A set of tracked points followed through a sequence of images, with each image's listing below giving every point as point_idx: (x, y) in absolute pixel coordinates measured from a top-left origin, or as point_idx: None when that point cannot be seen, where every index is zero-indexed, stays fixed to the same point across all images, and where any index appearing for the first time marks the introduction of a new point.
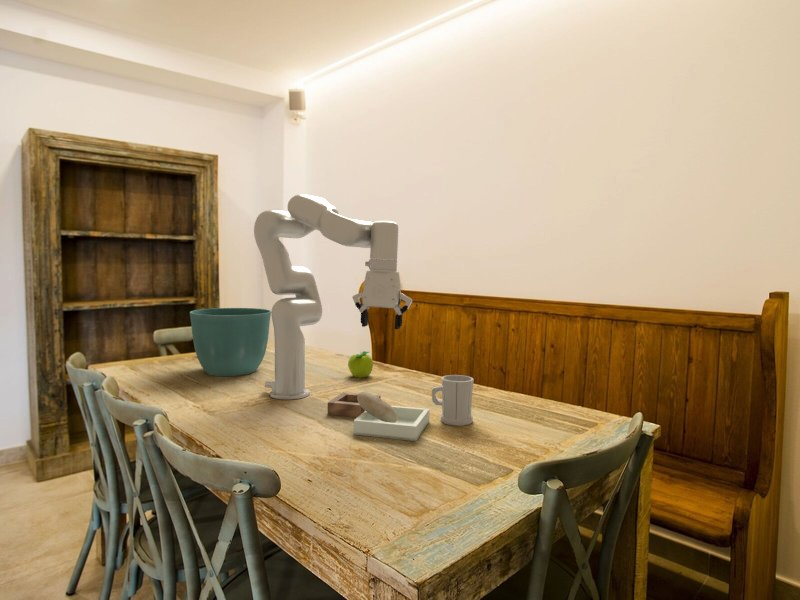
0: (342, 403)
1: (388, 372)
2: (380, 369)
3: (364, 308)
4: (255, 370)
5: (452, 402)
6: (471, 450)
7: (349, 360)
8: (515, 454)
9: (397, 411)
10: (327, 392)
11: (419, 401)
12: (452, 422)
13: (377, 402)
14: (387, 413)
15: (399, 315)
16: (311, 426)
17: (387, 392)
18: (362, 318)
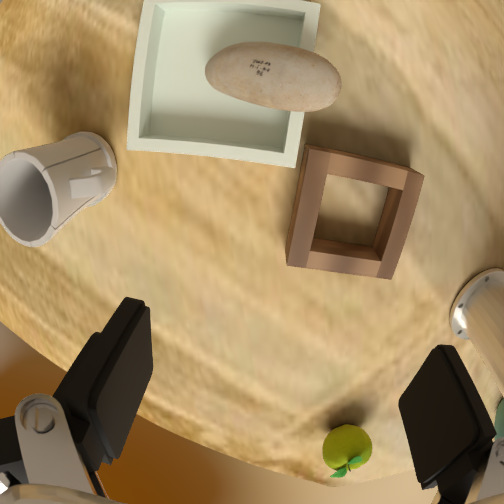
0: (385, 166)
1: (292, 456)
2: (307, 464)
3: (491, 477)
4: (501, 402)
5: (59, 143)
6: (58, 5)
7: (371, 450)
8: (5, 25)
9: (218, 142)
10: (413, 338)
11: (195, 308)
12: (85, 132)
13: (263, 50)
14: (230, 45)
15: (62, 406)
16: (426, 71)
17: (282, 362)
18: (474, 391)
